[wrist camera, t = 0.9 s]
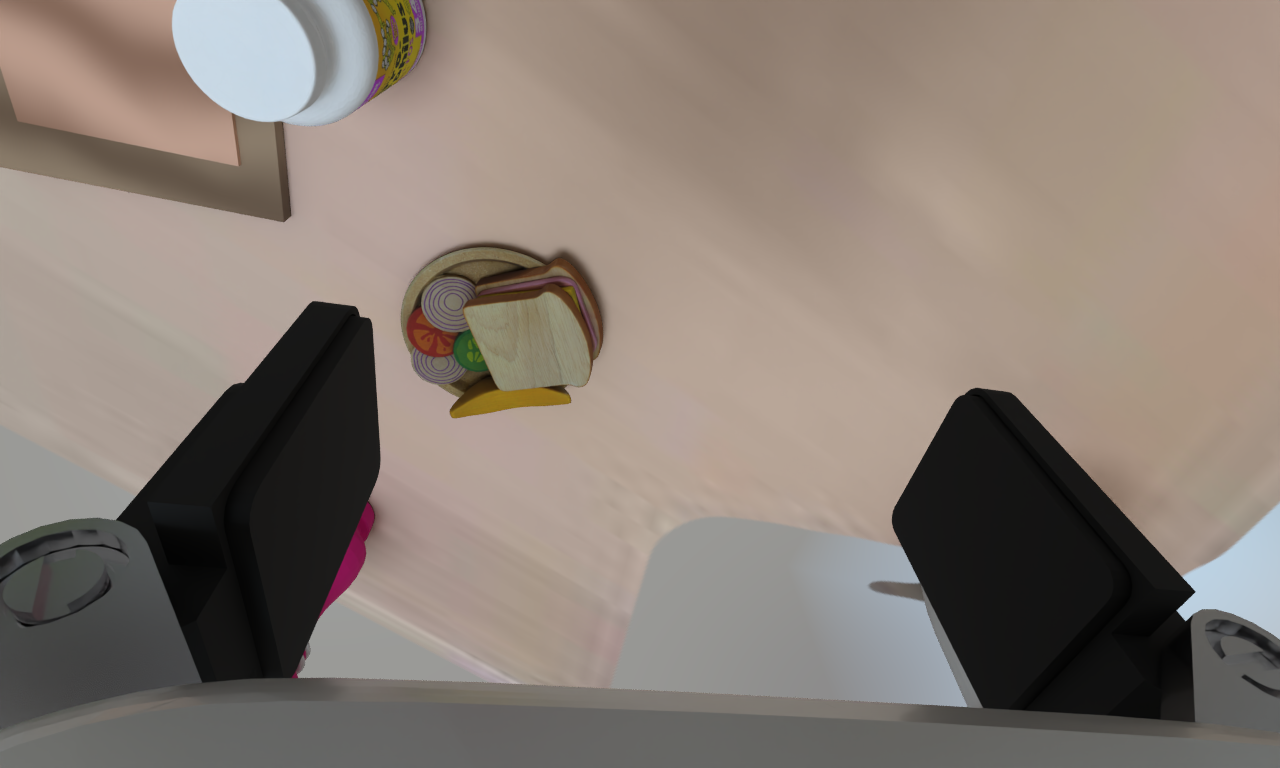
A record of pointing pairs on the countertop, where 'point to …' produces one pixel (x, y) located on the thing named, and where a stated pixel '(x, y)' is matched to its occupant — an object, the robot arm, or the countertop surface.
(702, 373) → the countertop surface
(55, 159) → the tile board
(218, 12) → the supplement bottle
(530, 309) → the toy sandwich meal
